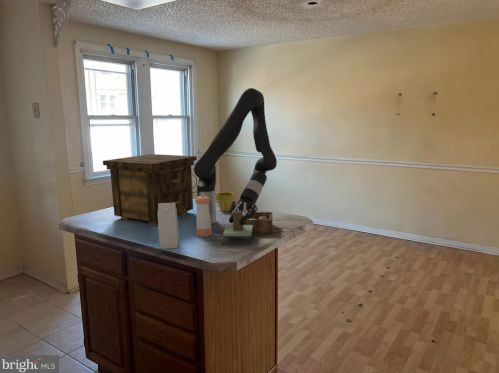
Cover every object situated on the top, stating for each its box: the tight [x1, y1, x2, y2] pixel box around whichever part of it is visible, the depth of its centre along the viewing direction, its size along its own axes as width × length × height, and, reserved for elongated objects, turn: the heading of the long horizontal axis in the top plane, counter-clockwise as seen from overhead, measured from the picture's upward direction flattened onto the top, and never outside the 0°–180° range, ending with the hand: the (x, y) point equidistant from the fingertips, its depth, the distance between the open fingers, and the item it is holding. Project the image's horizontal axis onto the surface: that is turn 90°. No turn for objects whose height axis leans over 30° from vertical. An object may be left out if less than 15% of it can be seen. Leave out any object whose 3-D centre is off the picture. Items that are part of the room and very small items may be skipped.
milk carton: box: [157, 203, 179, 250], centre depth 157 cm, size 7×7×19 cm
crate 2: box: [244, 211, 274, 235], centre depth 179 cm, size 14×14×7 cm
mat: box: [221, 234, 255, 246], centre depth 164 cm, size 13×13×1 cm
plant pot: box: [215, 191, 235, 212], centre depth 216 cm, size 10×10×10 cm
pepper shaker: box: [194, 194, 213, 238], centre depth 171 cm, size 7×7×19 cm
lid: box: [222, 209, 253, 237], centre depth 163 cm, size 12×12×9 cm
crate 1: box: [102, 153, 198, 226], centre depth 203 cm, size 35×35×33 cm
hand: (235, 223), depth 161 cm, fingers closed on lid, 5 cm apart
